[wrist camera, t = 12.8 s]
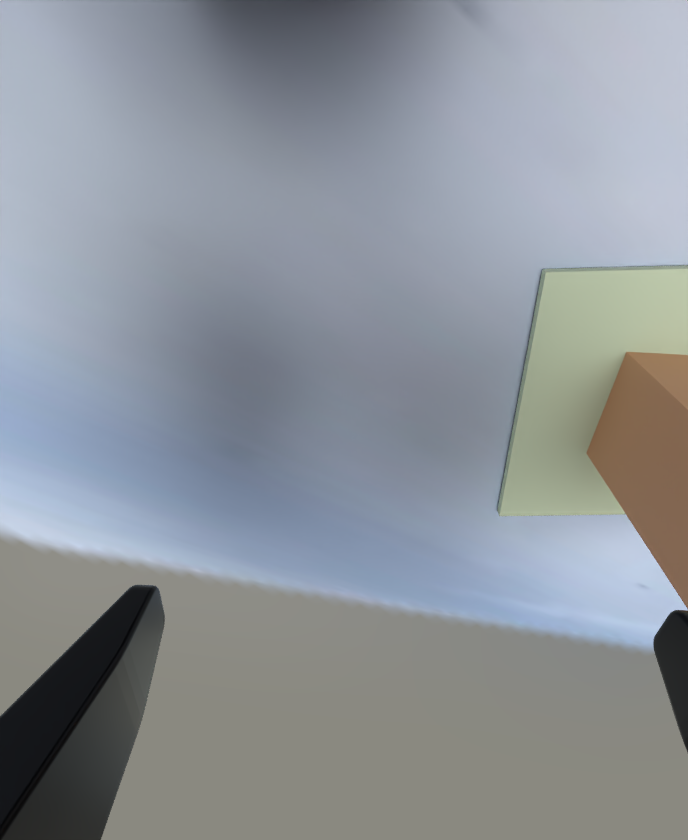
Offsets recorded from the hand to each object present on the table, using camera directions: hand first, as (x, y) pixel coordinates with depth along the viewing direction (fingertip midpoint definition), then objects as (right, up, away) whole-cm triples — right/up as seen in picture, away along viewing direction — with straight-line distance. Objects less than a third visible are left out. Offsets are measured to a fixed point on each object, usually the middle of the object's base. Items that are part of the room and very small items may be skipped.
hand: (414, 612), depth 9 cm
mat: (+12, +4, +13) cm, 18 cm away
